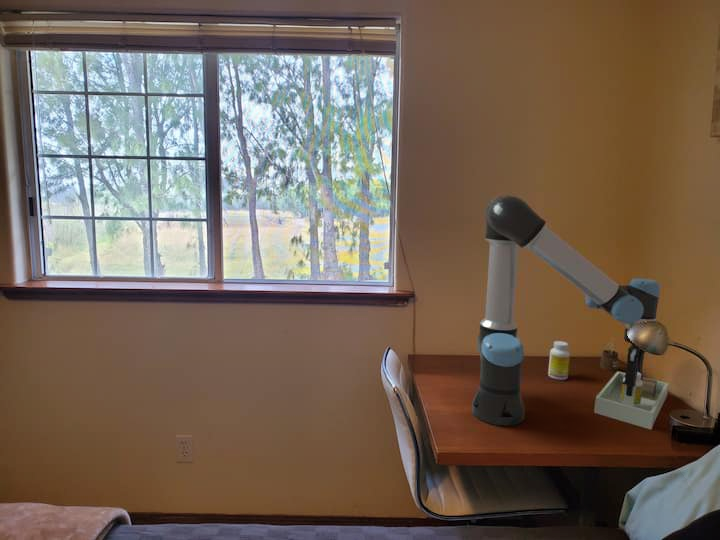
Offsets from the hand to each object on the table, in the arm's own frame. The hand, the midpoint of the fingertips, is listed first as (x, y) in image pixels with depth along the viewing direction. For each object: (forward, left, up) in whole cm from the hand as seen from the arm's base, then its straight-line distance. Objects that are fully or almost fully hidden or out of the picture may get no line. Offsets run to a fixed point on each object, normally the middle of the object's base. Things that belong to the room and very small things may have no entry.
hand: (630, 401), depth 143 cm
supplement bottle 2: (0, 0, -1) cm, 1 cm away
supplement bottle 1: (+10, +25, -3) cm, 27 cm away
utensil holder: (+31, +13, -3) cm, 34 cm away
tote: (+3, 0, -2) cm, 4 cm away
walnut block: (+13, 0, -2) cm, 13 cm away
